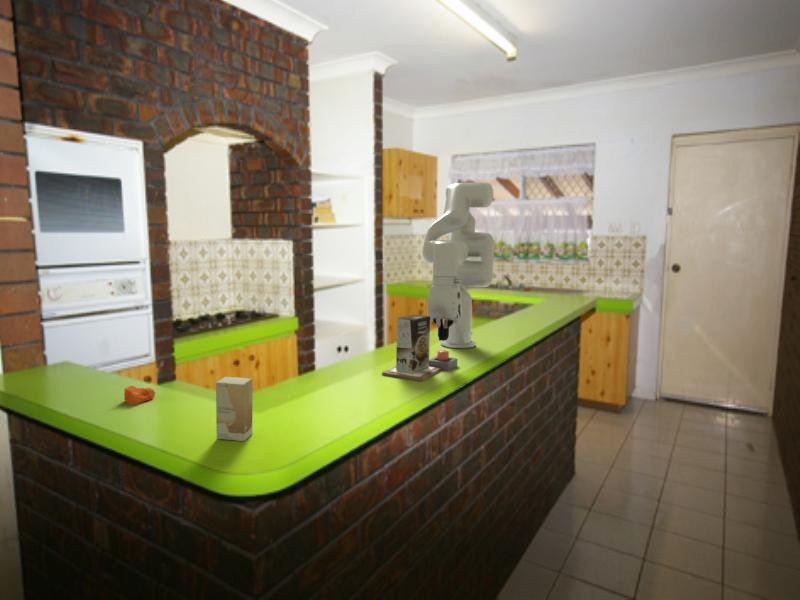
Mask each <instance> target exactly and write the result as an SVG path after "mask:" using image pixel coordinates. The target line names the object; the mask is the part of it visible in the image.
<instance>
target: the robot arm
mask: <svg viewBox="0 0 800 600" xmlns="http://www.w3.org/2000/svg"><path fill="white" fill-rule="evenodd" d="M445 199H446V200H445V204H444V205H445V206H444V209H443V215H441V216H440V217H439V218H437V220H435V221H434V222H432V224H431V225H430V226H429V227H428V228H427V230H426V233H425V238H424V242H423V247H422V256H423V259H424V261H425V262H426V263H428V264H432V285H430V287H429V292H428V298H427V308H426V309H427V310H426V312H427V316H430V322H433V323H434V324H435V325H436V328H437V337H438V341H440V345H441V346H443V347H445V348H451V349H468V348H469V349H470V348H473V347H474V346H475V345H476V342H475V341H474V340H472V336H473V334H474V333H473V331H472V310H473V309H472V308H473V307H472V306H473V298H472V295H471V294H470V292H469V291H468V290H467V288H468V287H469V288H487V287H490V286H491V284H492V281H493V275H494V274H493V273H494V258H495V241H494V236H493V234H491V233H489V232H483V231H482V232H479V231H478V232H476V231H475V230H476V228H475V227H476V219H475V217H474V216H473V214H472V213H471V212H470V209H471V208H488V207H490V206H491V205H492V203H493V201H494V189H493V186H492V185H491V183H489V182H456V183H452V184H450V185H448V186H447V187H446V190H445ZM447 234H450V235H451V237H450V238H451V239H450V240H449V239H448V240H447V239H446V240H445V239H439V238H441V237H442V236H445V235H447ZM467 259H479V260H467Z"/></svg>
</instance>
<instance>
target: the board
mask: <svg viewBox="0 0 800 600" xmlns="http://www.w3.org/2000/svg"><path fill="white" fill-rule="evenodd" d="M441 371H443V370H442V368H440V367H433V366H429V368H427V369H424V370H421V371H419V372H416V373H413V374H410V373H406V372H402V371H397V370H396V365H395V366H392V367H391V368H389V369H386V370H384V371H383V372H381V375H382V376H384V377H386V376H387V377H392V378H398V379H403V380H409V381H415V382H423V381H425V380H427V379H428V378H430V377H432V376H434V375H436V374H438V373H440V372H441Z"/></svg>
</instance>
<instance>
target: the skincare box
mask: <svg viewBox="0 0 800 600" xmlns="http://www.w3.org/2000/svg"><path fill="white" fill-rule="evenodd" d="M215 402H216V404H215V405H216V406H215V407H216V408H215V412H216V413H215V415H216V416H215V417H216V422H215V423H216V427H215V429H216V439H218V440H228V441H236V442H237V441H239V442H244V441H246V440H247V439H248V438H250V437H251V436H252V435H253V378H247V377H232V376H224V377H223V378H221V379H219V380H217V381H216V382H215Z"/></svg>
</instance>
